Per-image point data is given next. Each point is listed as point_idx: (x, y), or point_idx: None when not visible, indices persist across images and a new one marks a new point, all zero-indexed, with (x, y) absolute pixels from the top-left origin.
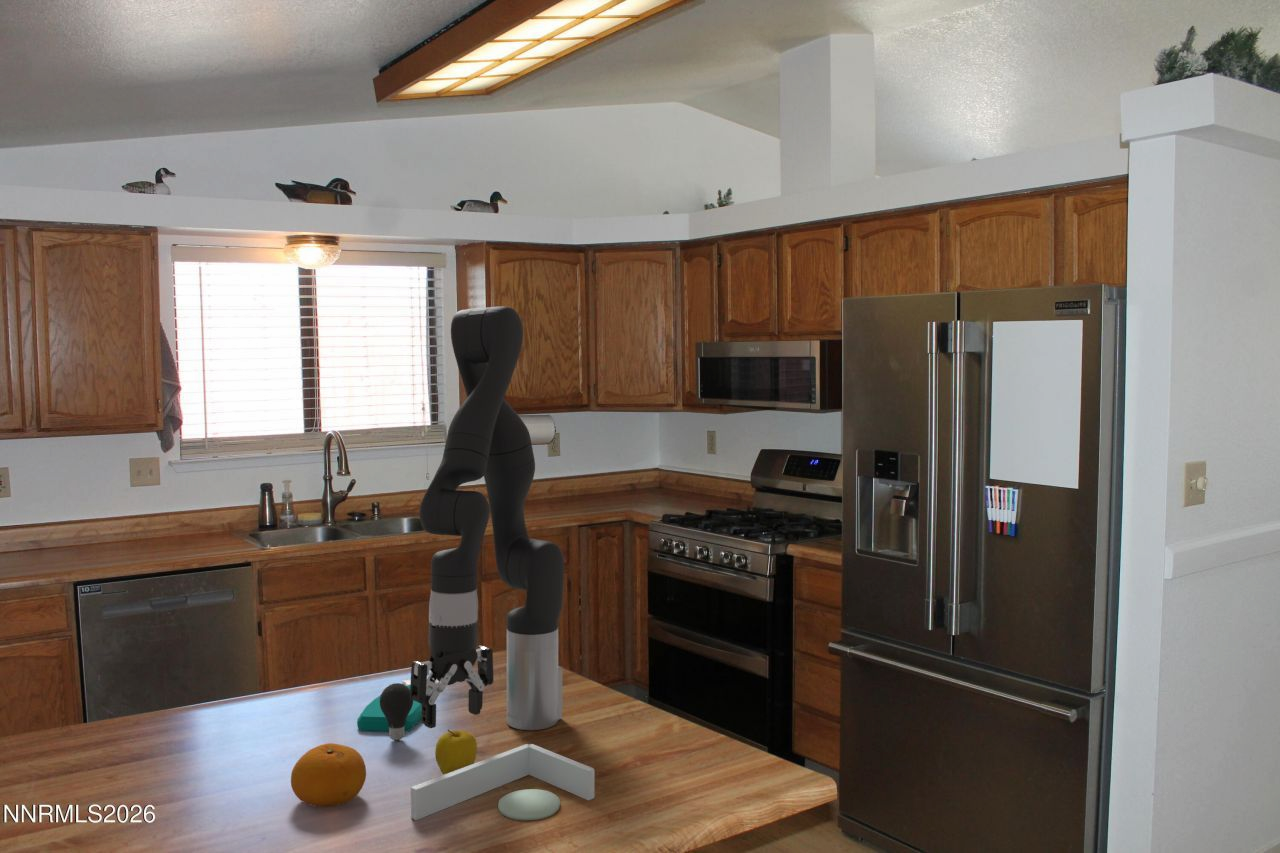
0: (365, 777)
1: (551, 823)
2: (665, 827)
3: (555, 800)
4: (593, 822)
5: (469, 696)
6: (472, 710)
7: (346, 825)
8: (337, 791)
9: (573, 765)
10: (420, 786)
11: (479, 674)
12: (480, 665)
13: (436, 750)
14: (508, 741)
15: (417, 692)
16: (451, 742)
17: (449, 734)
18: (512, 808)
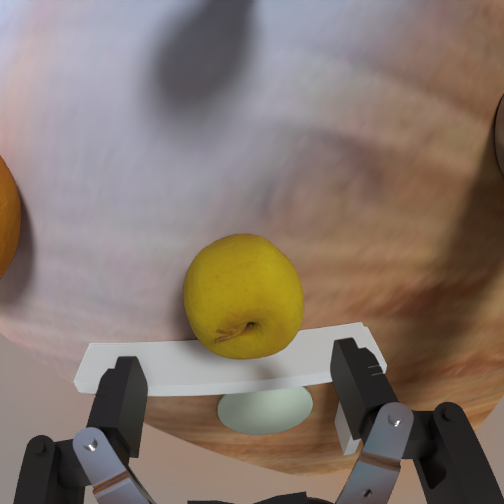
0: (13, 254)
1: (254, 438)
2: (331, 467)
3: (297, 420)
4: (292, 449)
5: (355, 387)
6: (336, 361)
7: (3, 297)
8: None
9: (349, 440)
10: (89, 389)
11: (439, 444)
12: (450, 487)
13: (185, 288)
14: (449, 176)
15: (54, 471)
16: (209, 348)
17: (221, 332)
18: (233, 413)
